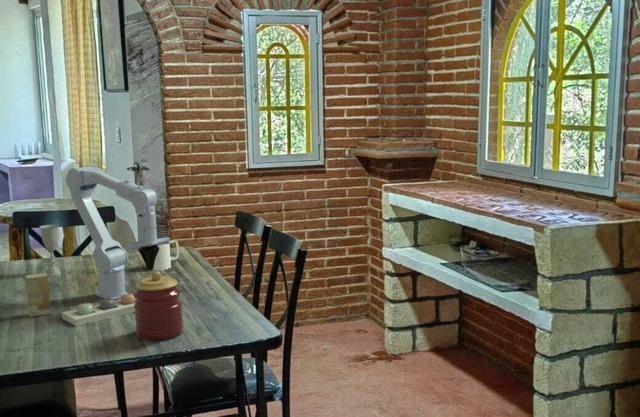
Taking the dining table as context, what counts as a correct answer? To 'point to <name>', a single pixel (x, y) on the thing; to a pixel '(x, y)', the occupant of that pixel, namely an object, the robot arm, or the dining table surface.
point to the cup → (165, 256)
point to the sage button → (84, 309)
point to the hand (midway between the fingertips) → (150, 269)
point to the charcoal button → (107, 304)
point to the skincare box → (37, 294)
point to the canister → (158, 308)
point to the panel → (98, 313)
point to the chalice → (51, 244)
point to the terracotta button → (127, 299)
